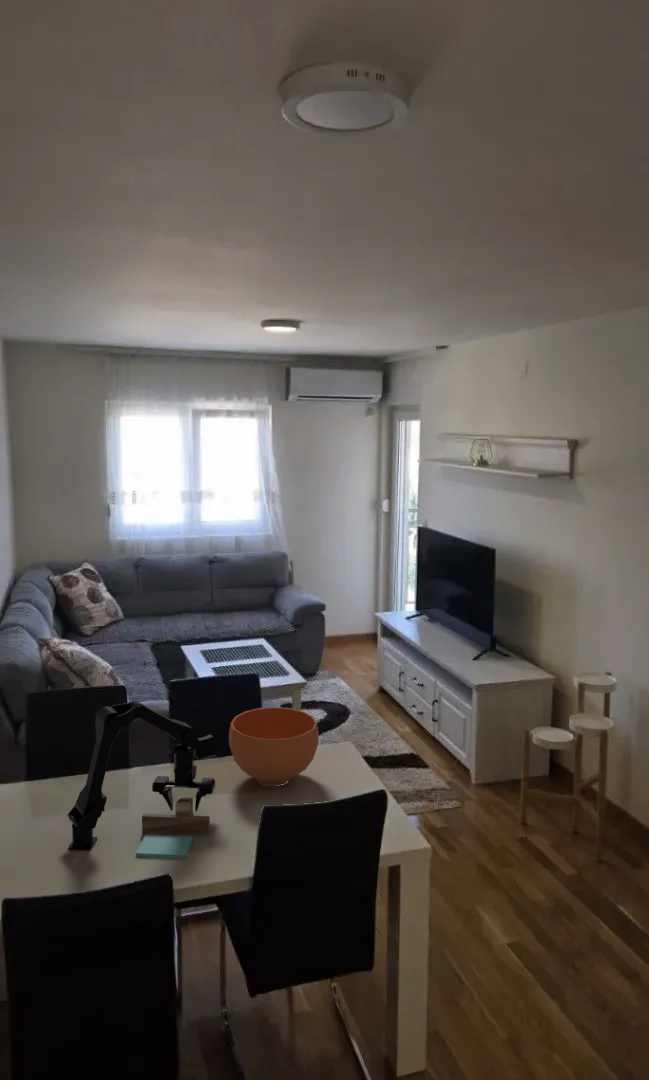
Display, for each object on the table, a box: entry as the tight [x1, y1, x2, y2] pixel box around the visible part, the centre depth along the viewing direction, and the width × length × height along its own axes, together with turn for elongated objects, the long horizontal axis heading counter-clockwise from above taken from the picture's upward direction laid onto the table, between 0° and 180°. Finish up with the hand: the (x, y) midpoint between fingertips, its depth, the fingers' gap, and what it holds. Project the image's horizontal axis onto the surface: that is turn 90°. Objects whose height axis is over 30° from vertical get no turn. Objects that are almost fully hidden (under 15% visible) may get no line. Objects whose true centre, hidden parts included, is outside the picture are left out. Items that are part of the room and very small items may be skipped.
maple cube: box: [174, 796, 194, 816], centre depth 245 cm, size 4×4×5 cm
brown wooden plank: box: [141, 813, 211, 836], centre depth 234 cm, size 2×20×5 cm, turn 87°
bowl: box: [228, 706, 320, 787], centre depth 268 cm, size 30×30×20 cm
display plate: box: [135, 834, 194, 859], centre depth 225 cm, size 10×14×1 cm
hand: (184, 810), depth 245 cm, fingers open, 7 cm apart
